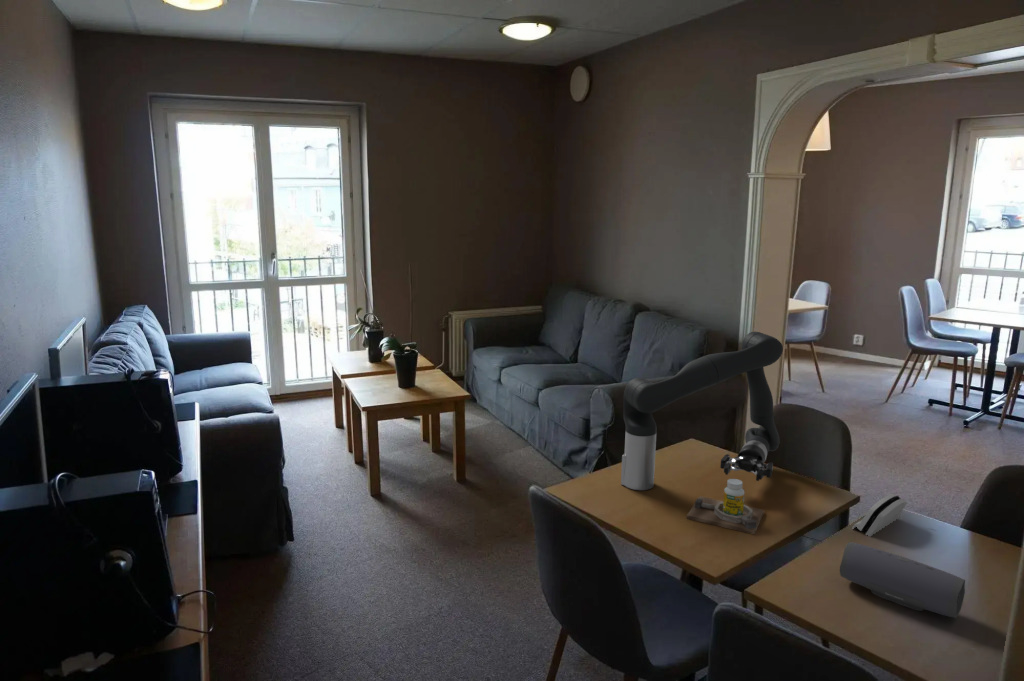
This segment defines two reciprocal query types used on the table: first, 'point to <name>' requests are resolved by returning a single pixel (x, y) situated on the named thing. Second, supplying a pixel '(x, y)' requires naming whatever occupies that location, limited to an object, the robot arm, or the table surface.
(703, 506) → the stand
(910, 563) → the bluetooth speaker
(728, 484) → the supplement bottle
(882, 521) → the white two-tone part
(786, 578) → the table surface
